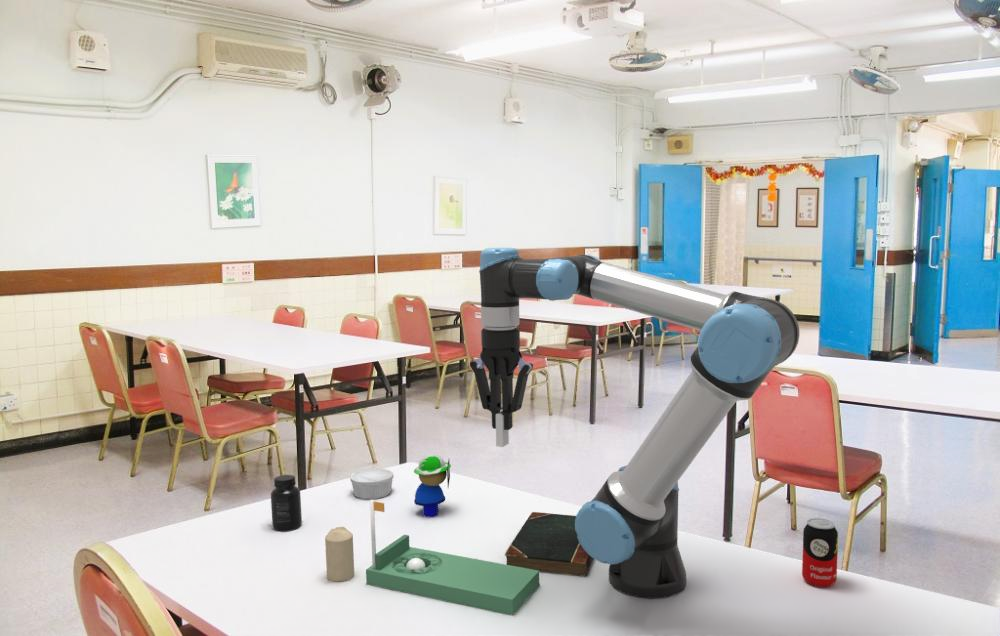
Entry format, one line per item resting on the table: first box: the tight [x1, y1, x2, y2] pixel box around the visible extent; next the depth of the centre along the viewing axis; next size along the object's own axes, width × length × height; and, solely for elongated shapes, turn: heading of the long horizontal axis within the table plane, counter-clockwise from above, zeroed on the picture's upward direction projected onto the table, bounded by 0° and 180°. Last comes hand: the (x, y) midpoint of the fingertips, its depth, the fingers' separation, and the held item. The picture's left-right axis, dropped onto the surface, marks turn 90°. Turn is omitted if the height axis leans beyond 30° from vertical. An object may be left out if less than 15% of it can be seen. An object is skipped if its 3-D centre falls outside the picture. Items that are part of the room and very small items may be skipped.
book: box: [504, 511, 594, 578], centre depth 175 cm, size 17×4×25 cm
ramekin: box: [349, 468, 394, 500], centre depth 212 cm, size 11×11×5 cm
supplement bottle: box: [270, 474, 303, 532], centre depth 190 cm, size 7×7×12 cm
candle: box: [324, 526, 355, 583], centre depth 163 cm, size 6×6×10 cm
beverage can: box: [801, 517, 839, 588], centre depth 157 cm, size 6×6×12 cm
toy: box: [413, 453, 452, 518], centre depth 197 cm, size 9×9×15 cm
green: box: [365, 499, 540, 616], centre depth 158 cm, size 32×13×17 cm, turn 65°
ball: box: [406, 558, 426, 570], centre depth 162 cm, size 4×4×4 cm
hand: (502, 444), depth 159 cm, fingers closed
